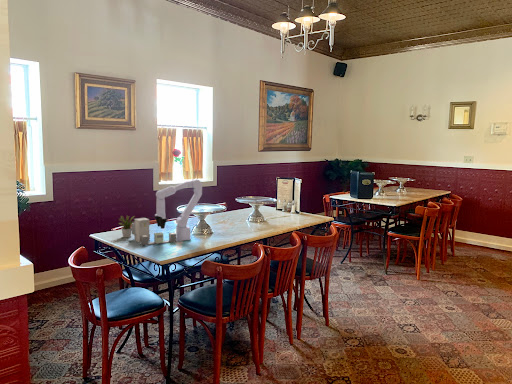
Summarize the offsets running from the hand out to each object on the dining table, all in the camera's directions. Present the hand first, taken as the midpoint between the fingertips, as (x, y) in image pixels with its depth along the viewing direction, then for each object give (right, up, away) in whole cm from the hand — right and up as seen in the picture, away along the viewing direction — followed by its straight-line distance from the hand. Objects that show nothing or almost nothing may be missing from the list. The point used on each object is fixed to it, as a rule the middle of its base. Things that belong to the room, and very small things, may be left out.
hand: (161, 227), depth 266 cm
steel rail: (0, -10, -6) cm, 12 cm away
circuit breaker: (-15, -9, +3) cm, 18 cm away
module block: (0, -9, -6) cm, 11 cm away
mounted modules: (0, -10, -6) cm, 12 cm away
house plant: (-28, -8, +9) cm, 31 cm away
